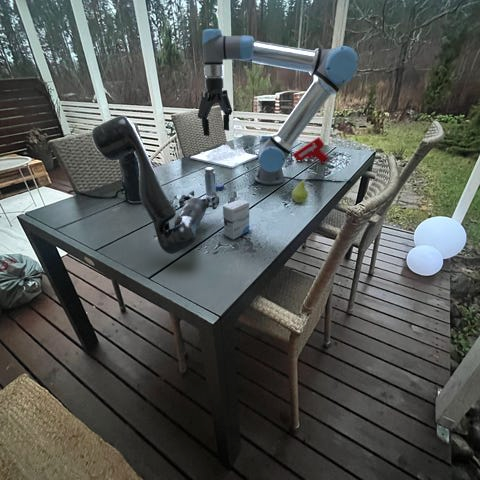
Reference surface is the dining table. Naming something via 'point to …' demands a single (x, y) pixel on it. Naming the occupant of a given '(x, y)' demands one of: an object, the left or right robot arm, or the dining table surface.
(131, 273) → the dining table surface
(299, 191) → the fruit
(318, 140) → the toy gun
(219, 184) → the lid
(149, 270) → the dining table surface
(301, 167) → the dining table surface
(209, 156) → the relief map
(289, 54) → the right robot arm
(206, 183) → the grey capped tube
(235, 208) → the ink box
